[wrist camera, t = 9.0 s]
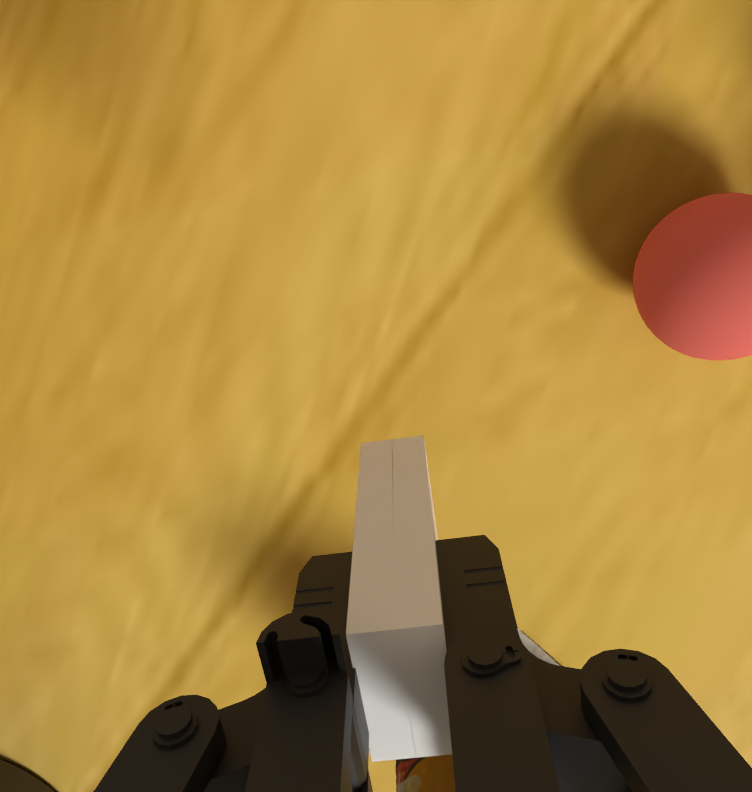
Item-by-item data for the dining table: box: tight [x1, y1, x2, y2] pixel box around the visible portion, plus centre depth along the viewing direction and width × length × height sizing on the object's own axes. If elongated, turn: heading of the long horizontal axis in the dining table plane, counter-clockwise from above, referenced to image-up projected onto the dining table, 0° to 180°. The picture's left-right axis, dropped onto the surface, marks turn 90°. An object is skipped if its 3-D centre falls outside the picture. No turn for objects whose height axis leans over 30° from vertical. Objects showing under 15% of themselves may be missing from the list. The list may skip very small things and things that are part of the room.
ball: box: [633, 193, 752, 360], centre depth 26 cm, size 6×6×6 cm
